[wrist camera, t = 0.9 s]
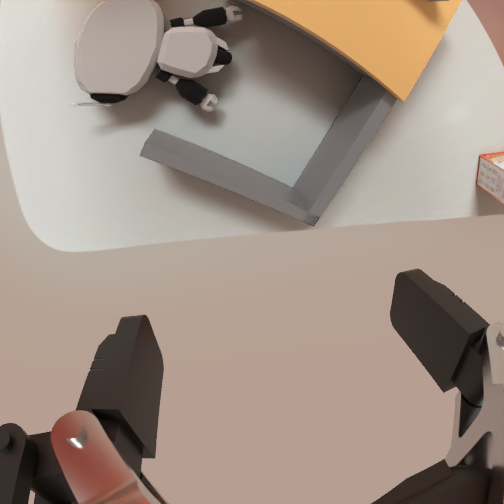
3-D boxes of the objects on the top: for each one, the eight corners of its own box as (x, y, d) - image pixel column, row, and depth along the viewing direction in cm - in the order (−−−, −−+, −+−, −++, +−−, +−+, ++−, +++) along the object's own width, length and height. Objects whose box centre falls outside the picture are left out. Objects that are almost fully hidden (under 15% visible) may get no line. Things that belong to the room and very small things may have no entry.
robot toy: (242, 9, 22) (100, -6, 17) (252, 1, 19) (88, -15, 14) (213, 113, 29) (77, 100, 24) (218, 121, 25) (62, 107, 20)
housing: (150, 139, 28) (139, 155, 23) (232, -13, 20) (238, -30, 15) (297, 200, 35) (313, 226, 31) (377, 75, 27) (407, 81, 22)
